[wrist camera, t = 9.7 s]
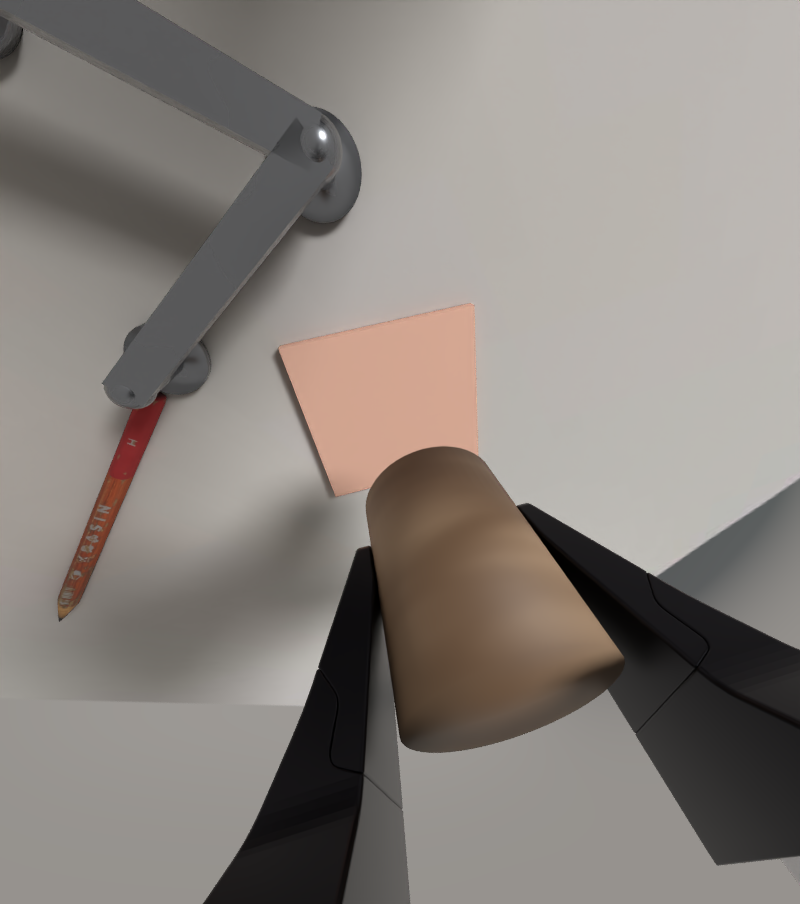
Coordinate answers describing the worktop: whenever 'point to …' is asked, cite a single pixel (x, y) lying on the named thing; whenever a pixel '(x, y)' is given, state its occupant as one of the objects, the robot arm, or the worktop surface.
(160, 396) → the pencil
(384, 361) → the terracotta mat
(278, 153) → the dark grey bent piece
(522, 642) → the wooden dowel cylinder
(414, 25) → the worktop surface
